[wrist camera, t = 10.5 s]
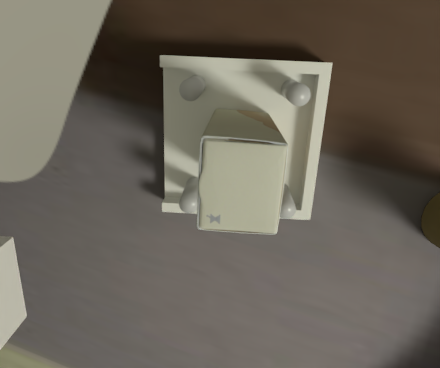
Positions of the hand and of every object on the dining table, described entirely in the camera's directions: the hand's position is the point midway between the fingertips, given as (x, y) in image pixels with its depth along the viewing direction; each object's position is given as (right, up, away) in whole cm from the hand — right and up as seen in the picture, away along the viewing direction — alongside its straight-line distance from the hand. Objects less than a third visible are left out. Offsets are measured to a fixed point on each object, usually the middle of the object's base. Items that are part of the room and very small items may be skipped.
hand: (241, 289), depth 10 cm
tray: (+1, +7, +19) cm, 20 cm away
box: (+1, +6, +18) cm, 19 cm away
